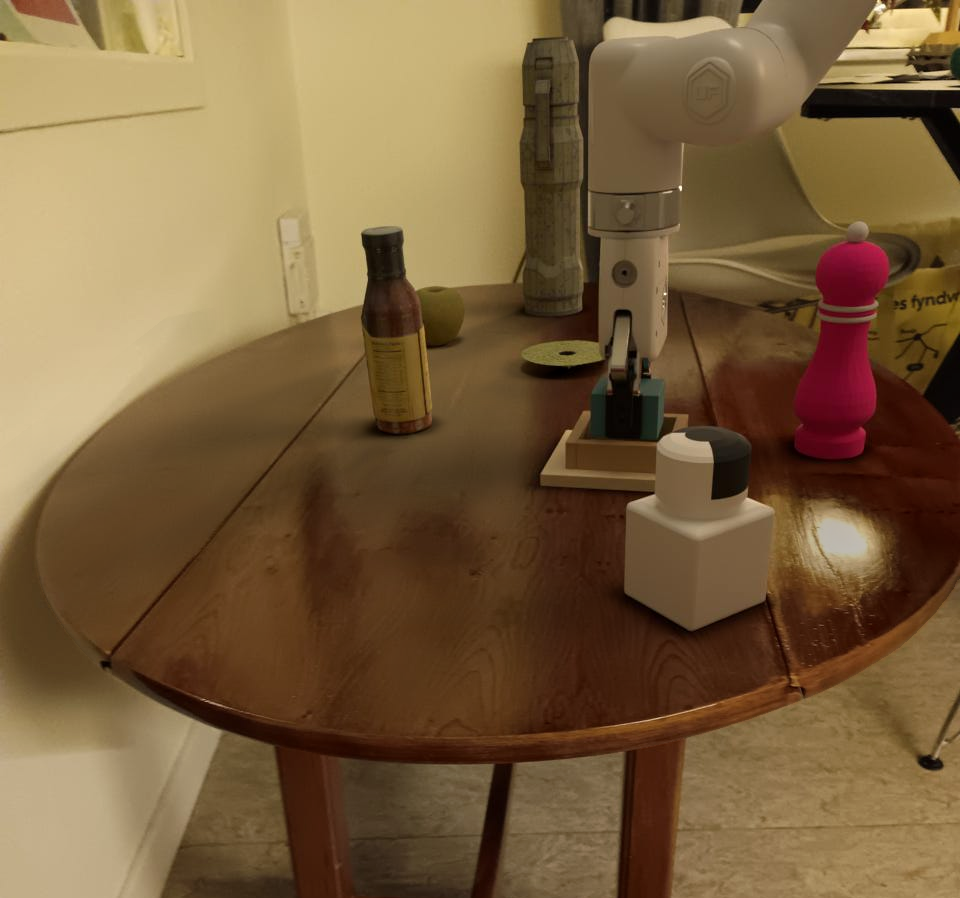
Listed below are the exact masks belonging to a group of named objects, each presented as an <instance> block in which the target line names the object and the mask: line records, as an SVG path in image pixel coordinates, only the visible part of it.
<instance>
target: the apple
mask: <svg viewBox="0 0 960 898" xmlns="http://www.w3.org/2000/svg"><path fill="white" fill-rule="evenodd" d="M415 291H416V293H417V295H418V297H419V300H420V304H421V313H422V323H423V324H424V332H425V342H426V347H441V346H445V345H448V344H449V343H451V342H452V341H454V340H455V339H456V337H457V336H458V334H459V332H460V331H461V328H462V327H463V322H464V317H465V306H464V305H465V304H464V302H463V298H462V296H461V294H460V293H459V292H458V291H457V290H455V289H454V288H452V287H448V286H438V285H432V286H425V287H422V288H418V289H417V290H415Z"/></svg>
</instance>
